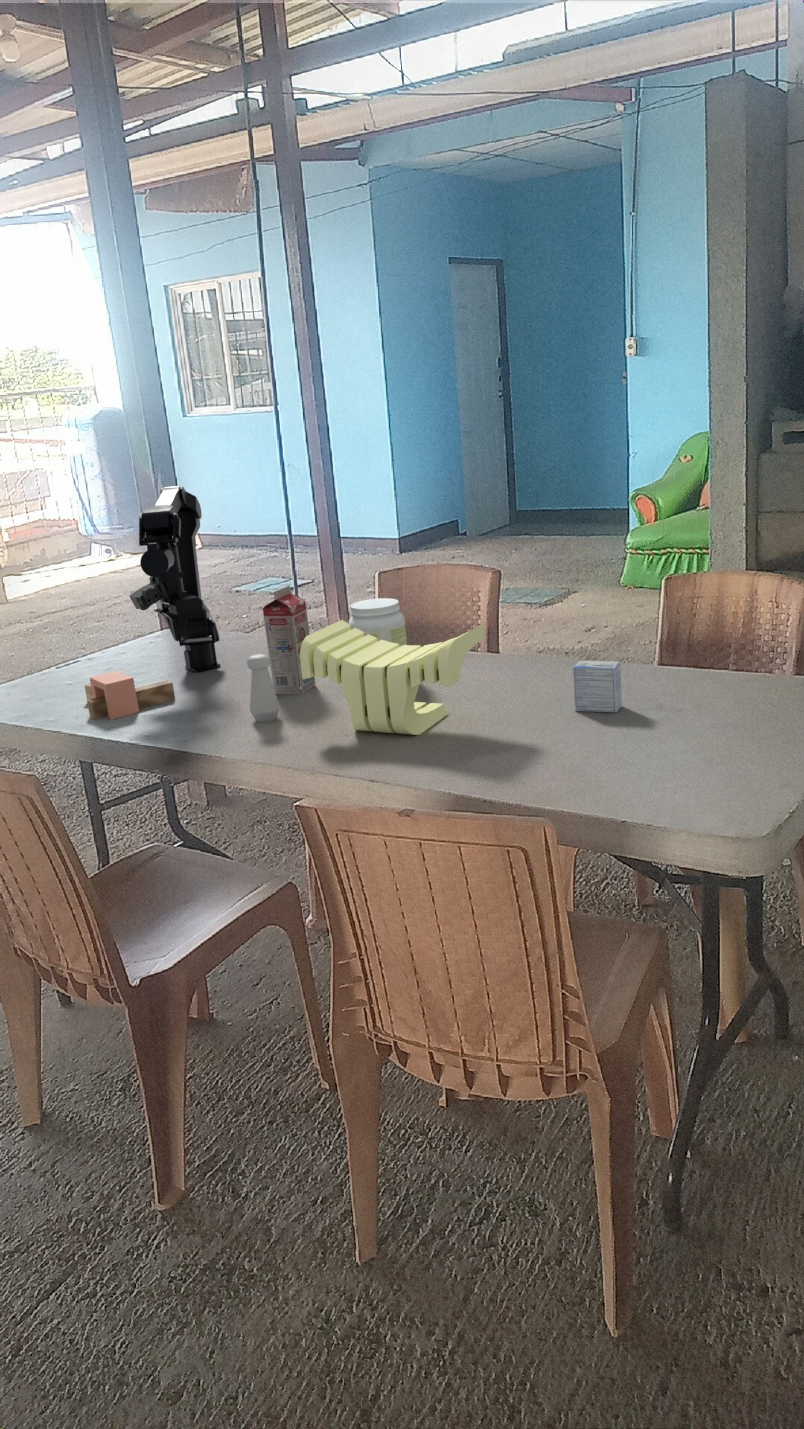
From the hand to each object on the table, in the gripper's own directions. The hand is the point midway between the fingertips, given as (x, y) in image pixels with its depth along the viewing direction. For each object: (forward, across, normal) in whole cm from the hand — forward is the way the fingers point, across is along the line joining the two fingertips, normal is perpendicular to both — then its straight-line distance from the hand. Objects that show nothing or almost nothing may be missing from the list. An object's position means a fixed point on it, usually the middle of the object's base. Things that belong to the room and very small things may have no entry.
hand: (177, 640), depth 232 cm
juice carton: (+12, +18, +17) cm, 28 cm away
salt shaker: (+12, +32, +2) cm, 34 cm away
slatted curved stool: (+12, +56, +17) cm, 60 cm away
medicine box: (+12, +79, +46) cm, 92 cm away
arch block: (+12, 0, -16) cm, 20 cm away
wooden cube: (+12, -12, -15) cm, 23 cm away
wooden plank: (+12, 0, -12) cm, 18 cm away
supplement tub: (+12, +28, +33) cm, 45 cm away
